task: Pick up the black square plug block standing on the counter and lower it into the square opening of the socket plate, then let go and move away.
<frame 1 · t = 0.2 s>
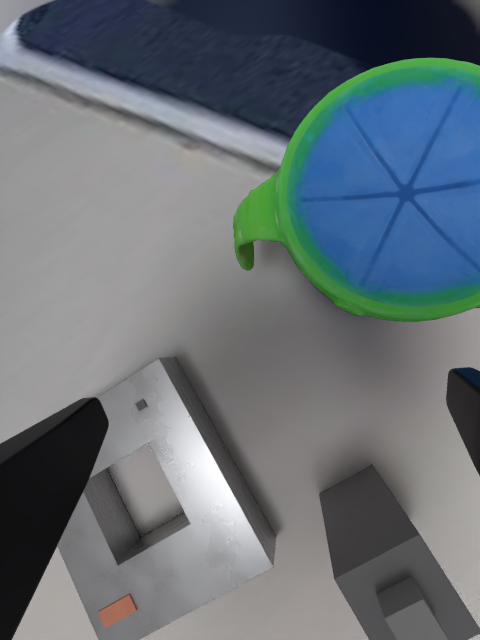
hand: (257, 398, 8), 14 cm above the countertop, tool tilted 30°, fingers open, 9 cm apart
snack cup: (359, 257, 22), on the countertop
plug: (362, 507, 21), on the countertop
socket plate: (153, 483, 23), on the countertop
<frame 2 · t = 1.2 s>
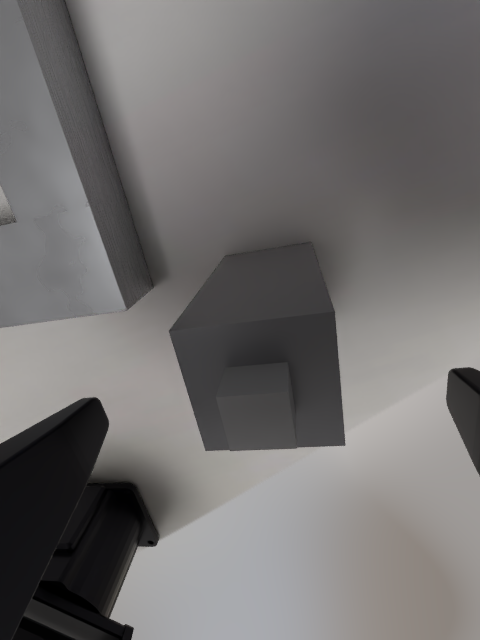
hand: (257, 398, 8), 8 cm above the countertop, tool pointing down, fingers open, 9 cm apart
plug: (273, 289, 16), on the countertop
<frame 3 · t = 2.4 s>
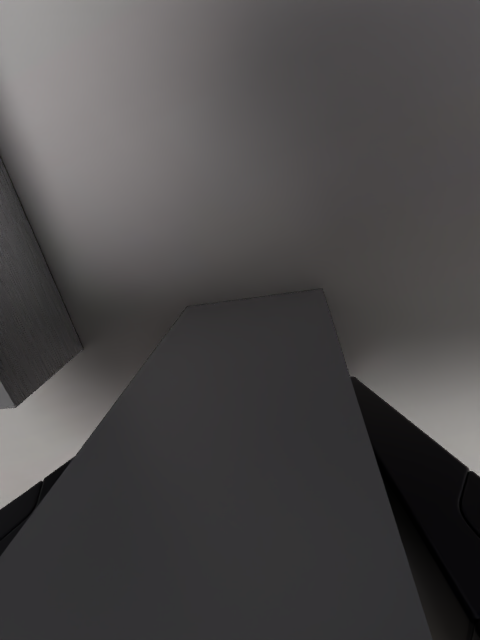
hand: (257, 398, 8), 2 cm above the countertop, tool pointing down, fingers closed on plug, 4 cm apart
plug: (262, 357, 10), on the countertop, touching gripper
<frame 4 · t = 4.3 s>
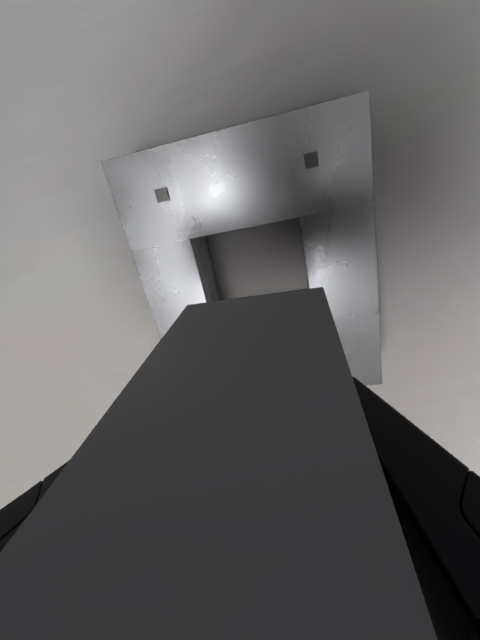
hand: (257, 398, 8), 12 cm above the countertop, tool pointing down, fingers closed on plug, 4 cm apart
plug: (263, 355, 10), point 10 cm above the countertop, touching gripper
socket plate: (258, 267, 19), on the countertop
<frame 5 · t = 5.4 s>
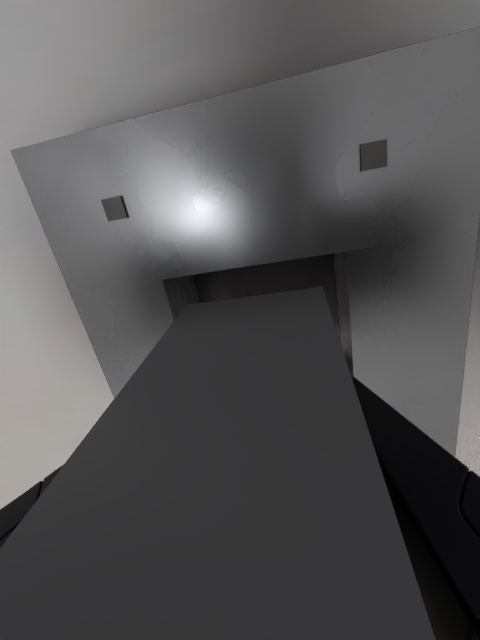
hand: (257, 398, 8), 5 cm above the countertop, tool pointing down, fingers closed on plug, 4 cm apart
plug: (262, 355, 10), point 3 cm above the countertop, touching gripper
socket plate: (268, 311, 13), on the countertop
when the fingers open (4 cm above the countertop, at t = 6.0 s): plug drops 2 cm, resting in socket plate.
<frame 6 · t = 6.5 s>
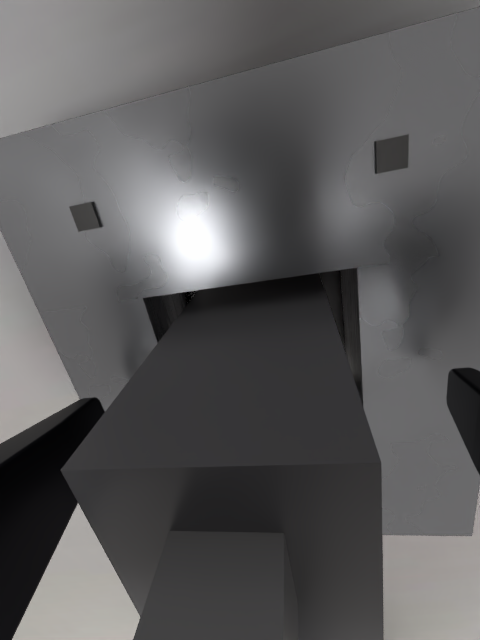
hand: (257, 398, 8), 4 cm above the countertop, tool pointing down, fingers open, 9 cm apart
plug: (266, 327, 12), resting in socket plate
socket plate: (266, 329, 12), on the countertop
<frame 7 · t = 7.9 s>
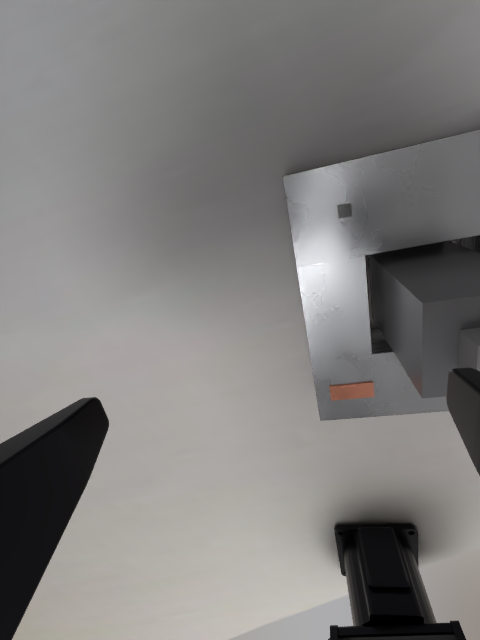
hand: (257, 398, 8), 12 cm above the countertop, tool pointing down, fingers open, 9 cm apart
plug: (406, 280, 19), resting in socket plate
socket plate: (406, 281, 18), on the countertop
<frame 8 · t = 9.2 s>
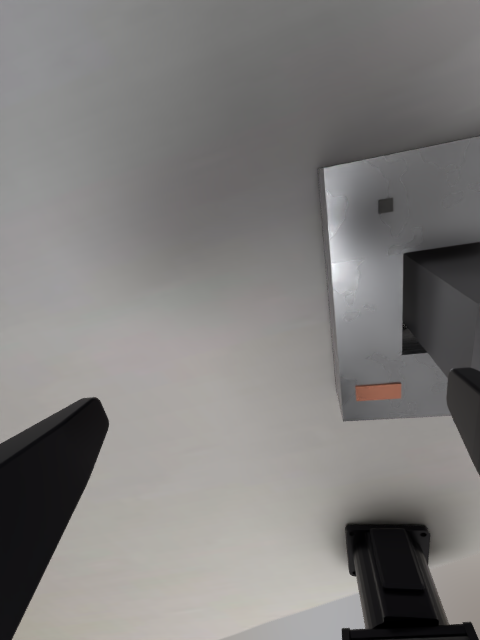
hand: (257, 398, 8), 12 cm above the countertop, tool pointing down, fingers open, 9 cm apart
plug: (437, 280, 18), resting in socket plate
socket plate: (437, 281, 18), on the countertop
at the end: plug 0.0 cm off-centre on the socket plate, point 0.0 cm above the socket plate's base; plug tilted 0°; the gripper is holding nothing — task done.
